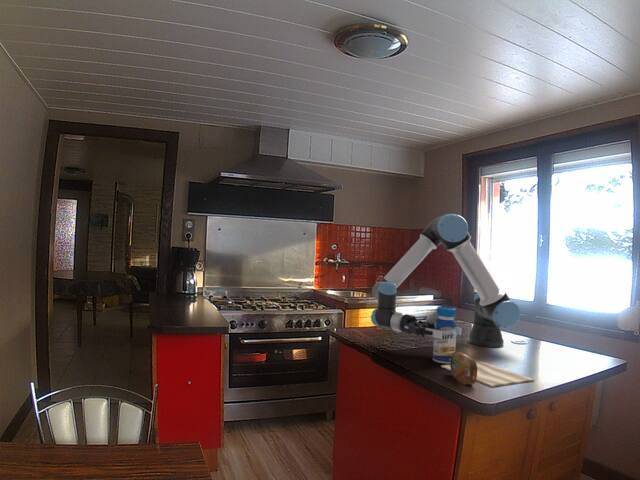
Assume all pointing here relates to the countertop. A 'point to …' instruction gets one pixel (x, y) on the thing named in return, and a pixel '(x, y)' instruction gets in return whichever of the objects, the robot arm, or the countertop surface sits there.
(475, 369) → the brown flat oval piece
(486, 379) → the beige flat square
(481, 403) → the countertop surface
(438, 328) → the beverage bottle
